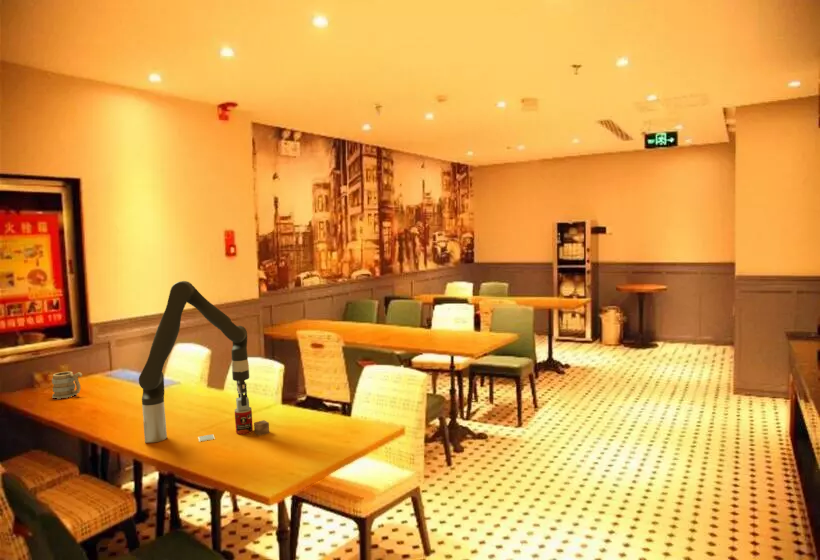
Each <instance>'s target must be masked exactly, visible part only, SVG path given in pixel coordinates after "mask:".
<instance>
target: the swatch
mask: <svg viewBox="0 0 820 560" xmlns="http://www.w3.org/2000/svg"><path fill="white" fill-rule="evenodd" d="M197 439H198V442H199V443H201V441H202V442H207V440H208V441H213V439H214V440H216V438H215V435H214V434H206V435H201V436H197Z"/></svg>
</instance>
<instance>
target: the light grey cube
mask: <svg viewBox="0 0 820 560" xmlns="http://www.w3.org/2000/svg"><path fill="white" fill-rule="evenodd" d="M235 401H236V402H235V403H236V404H235V405H236V409H237V410H238V411H244V410H249V407H250V400H249V397H248V396H247V397H246V403H247V405H246V406H242V405H241V397H240V398H239V397H236V398H235Z"/></svg>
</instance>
